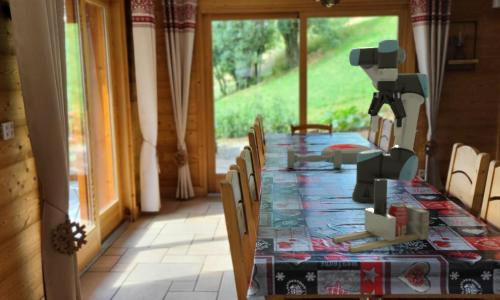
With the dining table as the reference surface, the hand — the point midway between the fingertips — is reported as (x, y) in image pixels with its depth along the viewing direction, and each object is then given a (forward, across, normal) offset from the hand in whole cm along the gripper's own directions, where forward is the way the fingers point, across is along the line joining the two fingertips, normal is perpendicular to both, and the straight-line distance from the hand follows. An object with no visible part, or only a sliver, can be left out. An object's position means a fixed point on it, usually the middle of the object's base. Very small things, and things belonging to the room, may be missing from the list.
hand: (385, 133), depth 185 cm
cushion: (+35, -117, +65) cm, 138 cm away
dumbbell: (+35, -99, +27) cm, 109 cm away
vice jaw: (+33, +20, -18) cm, 43 cm away
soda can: (+35, +20, -10) cm, 41 cm away
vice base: (+35, +20, -18) cm, 44 cm away
